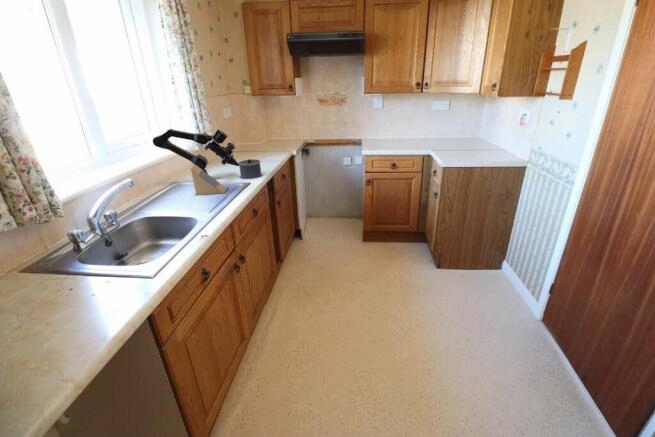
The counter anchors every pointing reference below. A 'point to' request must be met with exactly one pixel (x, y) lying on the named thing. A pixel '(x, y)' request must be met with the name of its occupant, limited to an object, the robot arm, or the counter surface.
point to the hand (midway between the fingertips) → (238, 165)
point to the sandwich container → (205, 182)
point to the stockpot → (250, 168)
